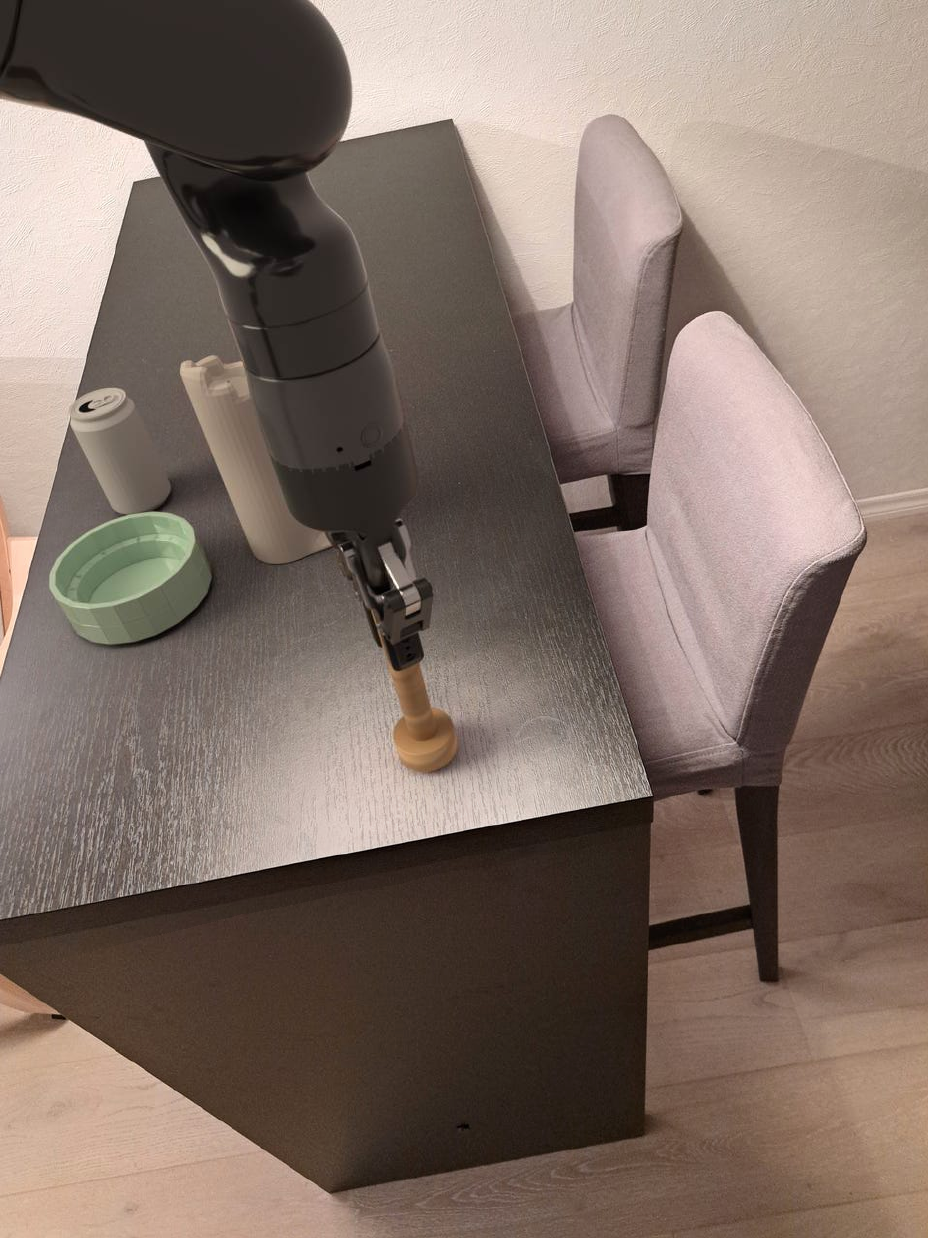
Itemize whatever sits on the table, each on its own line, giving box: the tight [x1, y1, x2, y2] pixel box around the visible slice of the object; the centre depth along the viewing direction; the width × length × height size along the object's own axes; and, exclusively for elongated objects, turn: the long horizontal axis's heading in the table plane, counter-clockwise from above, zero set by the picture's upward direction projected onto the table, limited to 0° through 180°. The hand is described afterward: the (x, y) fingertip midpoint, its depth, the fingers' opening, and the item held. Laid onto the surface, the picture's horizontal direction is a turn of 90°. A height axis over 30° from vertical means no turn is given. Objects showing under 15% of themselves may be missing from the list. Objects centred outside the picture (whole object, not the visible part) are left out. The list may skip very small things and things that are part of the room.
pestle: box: [371, 607, 459, 773], centre depth 63 cm, size 4×4×15 cm
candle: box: [179, 354, 332, 565], centre depth 84 cm, size 7×14×20 cm, turn 113°
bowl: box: [48, 511, 213, 646], centre depth 86 cm, size 13×13×5 cm
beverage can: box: [68, 387, 172, 516], centre depth 96 cm, size 6×6×12 cm
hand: (400, 651), depth 62 cm, fingers closed on pestle, 2 cm apart
